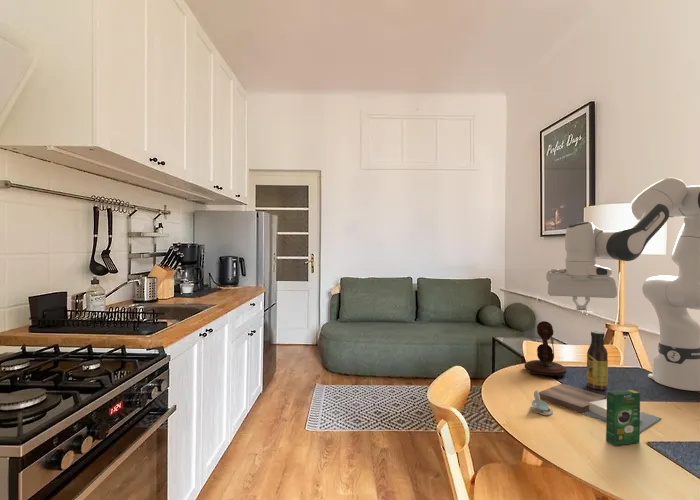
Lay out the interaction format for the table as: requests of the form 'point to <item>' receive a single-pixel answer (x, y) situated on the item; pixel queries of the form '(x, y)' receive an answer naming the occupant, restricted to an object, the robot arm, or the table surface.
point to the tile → (602, 408)
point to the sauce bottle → (597, 362)
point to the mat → (644, 424)
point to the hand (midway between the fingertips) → (581, 310)
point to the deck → (570, 397)
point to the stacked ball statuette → (545, 354)
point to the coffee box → (623, 417)
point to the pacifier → (540, 405)
